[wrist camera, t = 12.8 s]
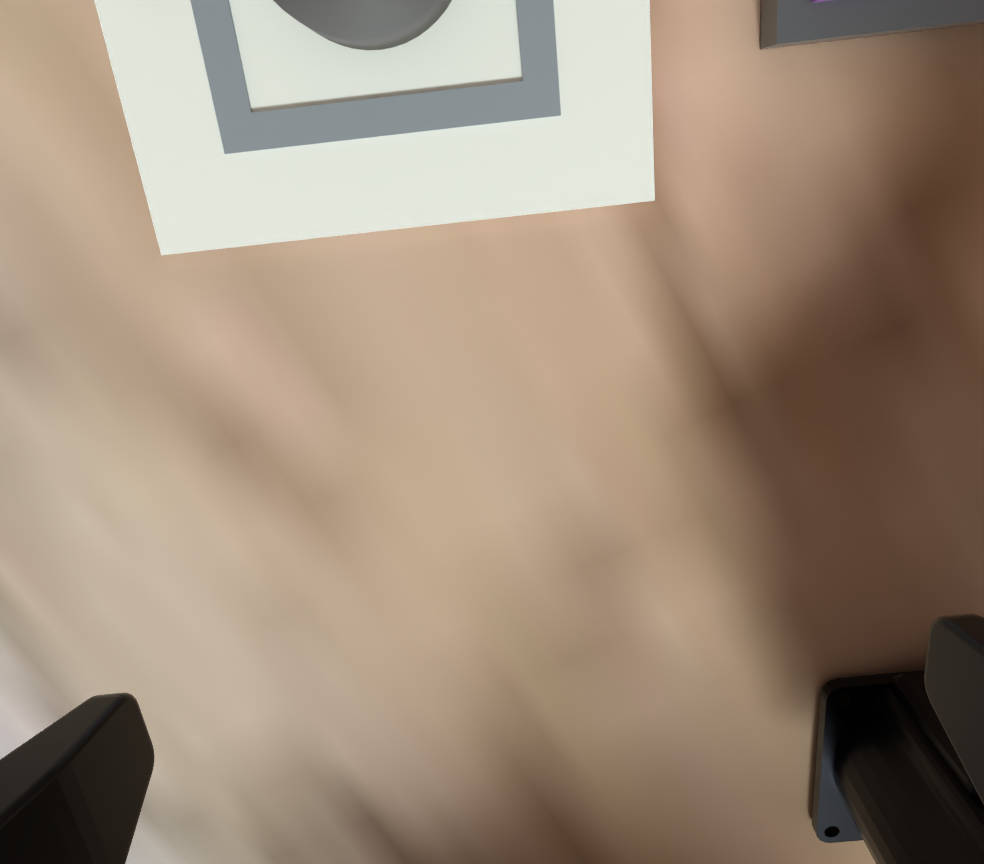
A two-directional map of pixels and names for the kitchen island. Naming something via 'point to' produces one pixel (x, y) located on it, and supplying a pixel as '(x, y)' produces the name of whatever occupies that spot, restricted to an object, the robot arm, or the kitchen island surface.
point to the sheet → (379, 117)
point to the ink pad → (859, 18)
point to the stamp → (366, 20)
